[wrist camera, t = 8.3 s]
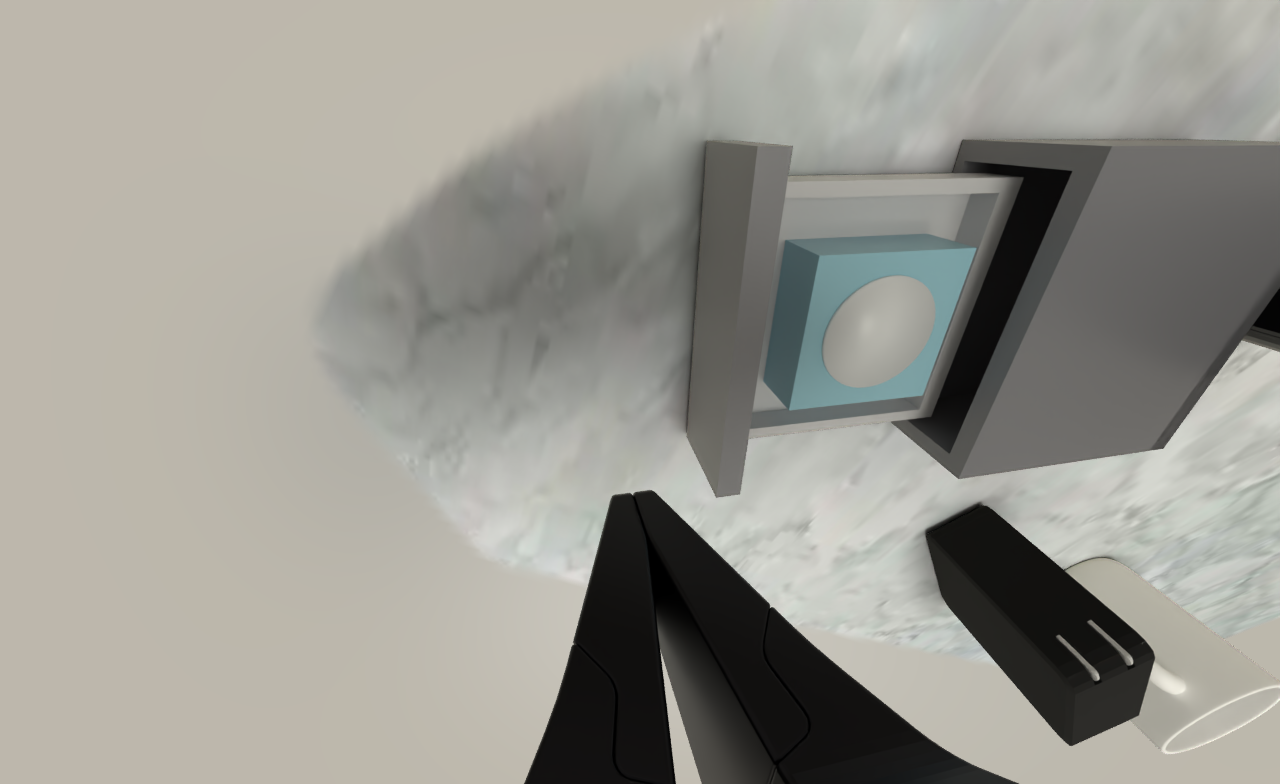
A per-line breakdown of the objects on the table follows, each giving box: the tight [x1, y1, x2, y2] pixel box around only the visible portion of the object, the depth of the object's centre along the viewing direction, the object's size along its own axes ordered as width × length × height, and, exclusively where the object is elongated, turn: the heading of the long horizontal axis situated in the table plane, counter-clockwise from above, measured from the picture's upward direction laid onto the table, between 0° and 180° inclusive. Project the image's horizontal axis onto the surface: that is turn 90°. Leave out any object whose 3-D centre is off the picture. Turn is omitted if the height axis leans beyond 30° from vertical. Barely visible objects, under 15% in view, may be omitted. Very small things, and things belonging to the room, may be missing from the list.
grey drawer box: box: [891, 139, 1280, 479], centre depth 20 cm, size 11×12×5 cm
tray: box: [687, 141, 1024, 498], centre depth 18 cm, size 11×12×4 cm
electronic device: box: [926, 506, 1155, 746], centre depth 28 cm, size 4×10×10 cm, turn 29°
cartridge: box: [763, 234, 977, 410], centre depth 18 cm, size 6×6×3 cm
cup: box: [1065, 558, 1280, 754], centre depth 34 cm, size 8×12×10 cm
